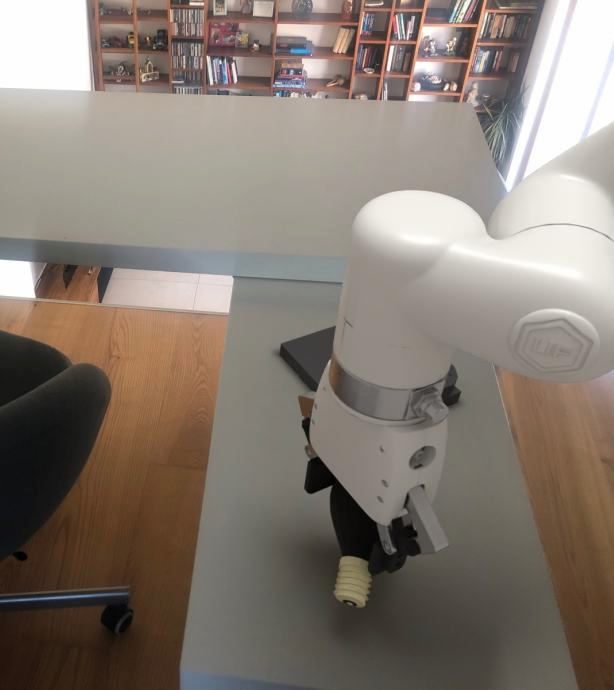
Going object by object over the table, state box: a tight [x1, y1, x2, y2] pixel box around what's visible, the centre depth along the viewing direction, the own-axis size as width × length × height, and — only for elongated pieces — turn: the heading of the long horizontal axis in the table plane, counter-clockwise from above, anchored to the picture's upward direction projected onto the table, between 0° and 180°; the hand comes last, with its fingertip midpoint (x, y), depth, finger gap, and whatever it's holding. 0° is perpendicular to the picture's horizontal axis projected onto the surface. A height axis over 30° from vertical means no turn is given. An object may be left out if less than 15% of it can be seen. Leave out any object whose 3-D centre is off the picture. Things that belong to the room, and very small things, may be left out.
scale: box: [279, 325, 462, 407], centre depth 82 cm, size 16×14×4 cm
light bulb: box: [329, 479, 404, 608], centre depth 58 cm, size 7×7×12 cm
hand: (351, 524), depth 58 cm, fingers closed on light bulb, 8 cm apart
